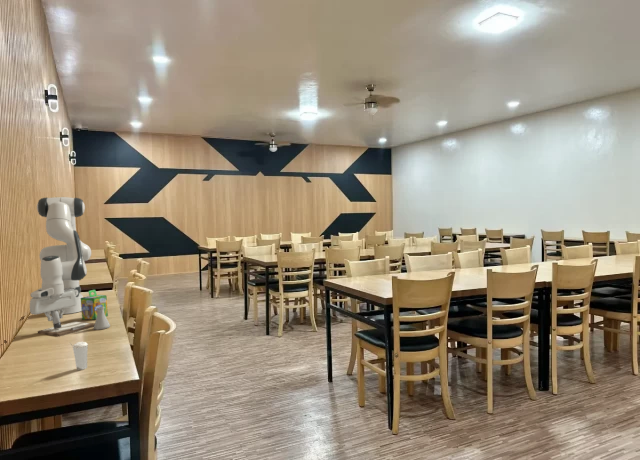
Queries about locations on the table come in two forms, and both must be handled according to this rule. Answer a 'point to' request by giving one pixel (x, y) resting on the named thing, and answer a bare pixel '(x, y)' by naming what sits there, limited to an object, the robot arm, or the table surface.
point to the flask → (101, 320)
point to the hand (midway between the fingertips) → (55, 319)
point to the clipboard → (67, 328)
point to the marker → (56, 319)
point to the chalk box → (93, 305)
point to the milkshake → (80, 355)
